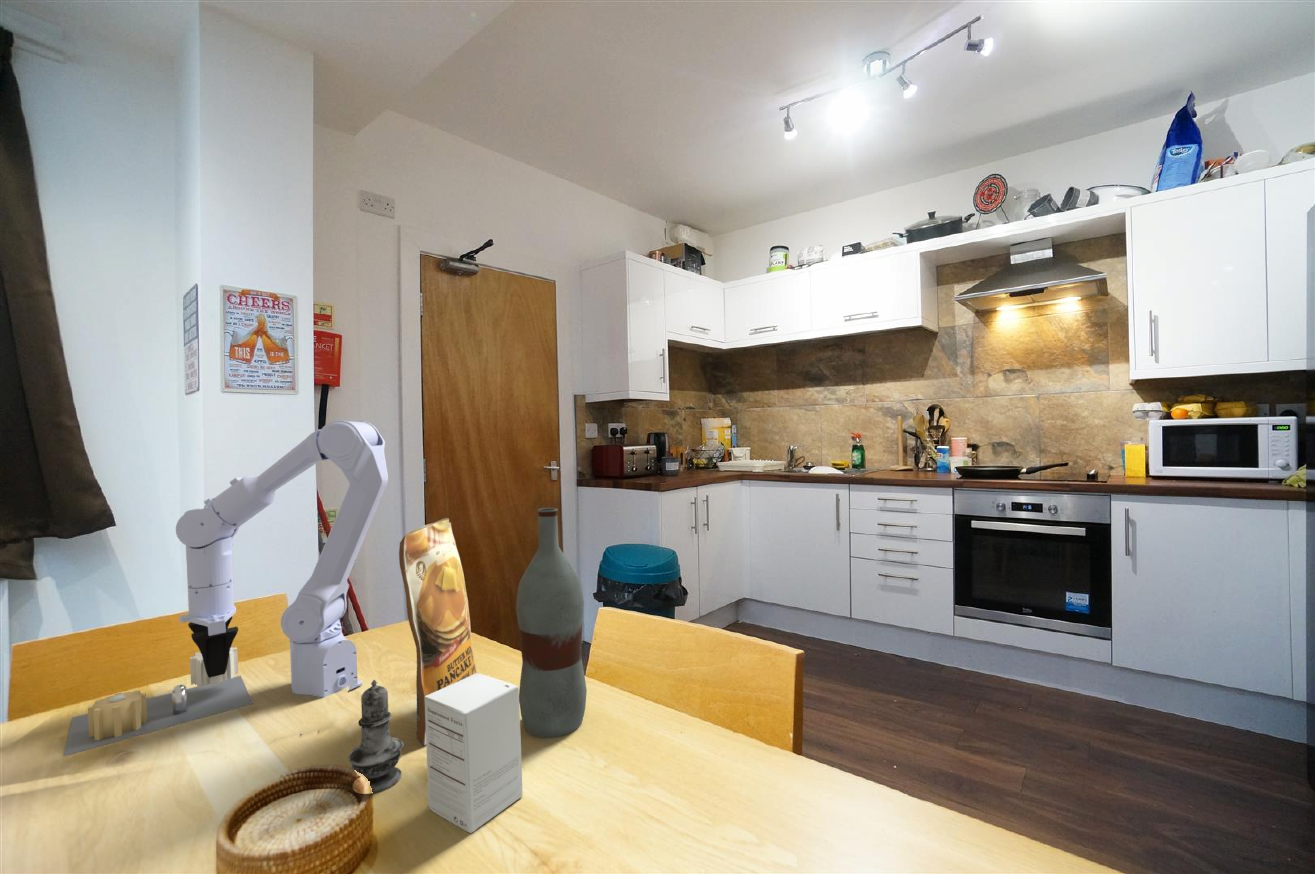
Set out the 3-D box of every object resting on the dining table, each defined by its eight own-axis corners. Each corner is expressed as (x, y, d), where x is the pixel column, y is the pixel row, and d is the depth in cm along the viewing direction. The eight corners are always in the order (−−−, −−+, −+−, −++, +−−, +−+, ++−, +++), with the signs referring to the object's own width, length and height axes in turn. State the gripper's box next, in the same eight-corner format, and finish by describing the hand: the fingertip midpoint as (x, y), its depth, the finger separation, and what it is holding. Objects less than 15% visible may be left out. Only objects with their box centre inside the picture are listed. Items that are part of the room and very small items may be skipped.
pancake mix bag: (386, 751, 74) (379, 535, 74) (452, 686, 93) (447, 513, 93) (436, 753, 74) (428, 535, 73) (493, 686, 93) (487, 513, 92)
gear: (229, 682, 89) (228, 656, 89) (185, 688, 88) (184, 662, 88) (242, 668, 95) (241, 644, 95) (200, 674, 93) (199, 649, 93)
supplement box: (482, 776, 69) (478, 670, 69) (524, 797, 64) (521, 684, 64) (425, 810, 63) (422, 694, 62) (469, 836, 58) (465, 712, 58)
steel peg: (189, 710, 85) (188, 683, 85) (176, 715, 84) (175, 688, 84) (183, 708, 86) (182, 681, 86) (170, 713, 84) (169, 686, 84)
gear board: (240, 681, 97) (239, 649, 97) (253, 709, 87) (251, 673, 87) (72, 724, 84) (71, 686, 84) (63, 763, 74) (61, 721, 74)
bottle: (518, 744, 75) (511, 515, 75) (520, 711, 84) (514, 506, 84) (590, 735, 77) (583, 511, 77) (585, 703, 86) (579, 503, 86)
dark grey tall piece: (413, 766, 71) (410, 669, 71) (386, 797, 65) (383, 691, 65) (368, 765, 72) (365, 669, 71) (337, 795, 66) (334, 690, 66)
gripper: (175, 580, 94) (179, 663, 94) (180, 598, 83) (184, 691, 83) (229, 572, 98) (232, 651, 99) (240, 587, 88) (244, 676, 88)
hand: (214, 669), depth 91 cm, fingers closed on gear, 6 cm apart
